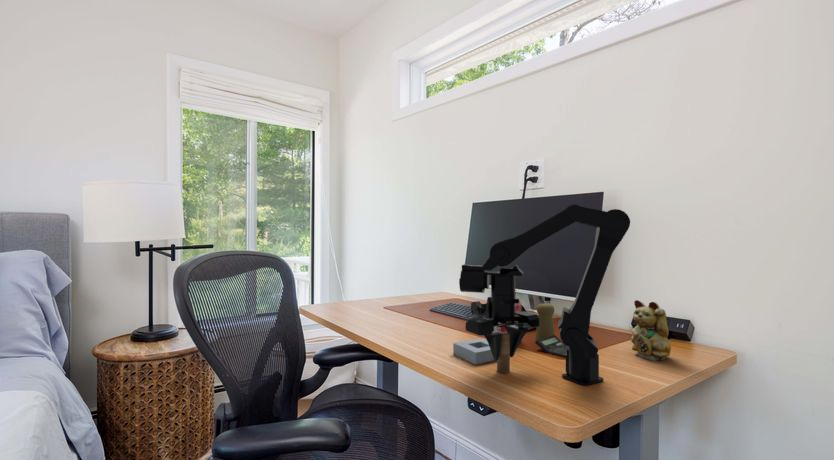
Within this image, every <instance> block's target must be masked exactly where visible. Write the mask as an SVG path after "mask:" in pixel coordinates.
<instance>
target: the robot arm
mask: <svg viewBox="0 0 834 460" xmlns="http://www.w3.org/2000/svg"><path fill="white" fill-rule="evenodd" d="M574 223H578V224H581V225H586V226H588V227H593V228H596V229H595V230H596V231H595V237H594V246H593V250H592V253H591V256H590V259H589V261H588V263H587V265H586V269H585V271H584V274H583V277H582V278H581V282H580V285H579V288H578V291H577V294H576V295H575V300H574V301H573V303H572V304H571V306H570V307H569V308H567V307H565V306H563V307H562V313H561V316H560V318H559V319H558V321H557V328H558V329H559V337H560V338H559V339H560V340H561V341H562V342H563V343H564V344H565V345H566V346H568V347H569V348H570V349H567V355H566V358H565V373H562V374H561V377H562V378H565V379H567V380H569V381H572V382H574V383H577V384H579V385H582V386H589V385H593V384H596V383H600V382H603V381H604V377H601V376H600V371H599V370H600V364H599V363H600V362H599V361H600V357H599V356H600V355H599V353H598V352H599V349H598V346H597V343H596V340H595V339H594V338H593V336H591V335H590V333H589V331H590V323H591V315H592V310H593V306H594V303H595V301H596V298H597V295H598V292H599V290H600V287H601V285H602V284H603V283H602V282H603V279H604V276H605V274H606V272H607V269H608V266H609V263H610V260H611V258H612V255H613V253H614V251H615V250H616V249H617V247H618V246H619V245H620V243H621V241H622V240H623V238H624V237H625V235H626V234H627V232H628V231H629V228H630V227H631V219H630V217H629V215H628V214H627V212H626V211H623V210H622V209H618V208H614V209H609V210H607V211H605V210H602V209H595V208H590V207H585V206H580V205H579V204H571V205H569V206H567V207H566V208H564V210H562V211H560V212H558V213H556V214H555V215H553V216H551V217H549V218H547V219H546V220H544V221H542V222H541V223H539V224H537V225H535V226H534V227H532V228H530V229H529V230H527V231H525V232H523V233H521V234H518V235H515V236H513V237H510V238H507V239H504V240H502V241H499V242H497V243H495V244H493V245H492V246H491V248H490V251H489V258H487V260H486V261H485V262H484V263H483V265H477V264H476V265H471V264H465V263H464V264H462V265H461V271H460V275H459V279H458V280H459V283H458V284H459V290H460V292H461V293H462V292H463V293H477V294H478V293H481V294H482V293H483V294H484V293H485V290H487V289H489V288H490V287H491V288H490V296H487V299H486V302H485V303H482V302H481V301H479V300H477V301H472V302H471V303H470V313H471V315H472V316H476V317H474V318H472V317H471V318H468V319H467V320H466V321H465V331H466V332H469V333H471V334H474V335H477V336H484V337H485V338H484V339H486V340H487V342H488V344H489V347H490V350H491V352H492V355H493V358H494V360H495V361H497V360H498V358H499V354H500V347H501V340H502V334H501V333H498V327H505V329H506V331H507V333H509V334H510V358H514V356H515V354H516V352H517V350H518V348H519V346H520V344H521V342H522V341H523V339H524V337H525V335H526V333H528V332H529V330H530V328H535V327H536V328H537V327H538V326H539V317H538V313H537V314H536V313H533V312H528V311H526V310H525V311H521V312H515V303H519V299H520V298H519V299H518V298H517V297H516V277H522V276H523V275H524V271H523V270H521V269H520V267H519V265H518V264H516V265H514V266H513V268H512V267H506V266H508V265H510V264H512V263H513V262H514V261H515V260H516V259H517V258H519V257H520V256H521V255H522V254H524V253H525V252H526V251H527V250H529V249H530V248H531V247H533V246H535V245H536V244H538V243H540V242H542V241H543V240H545V239H547V238H549V237H552V235H555V234H556V233H558V232H560V231H561V230H563V229H565V228H567V227H568V226H571V225H572V224H574ZM497 267H500V269H499V271H492V270H493V269H495V268H497ZM498 323H499V324H498ZM526 324H527V325H528V327H530V328H526Z"/></svg>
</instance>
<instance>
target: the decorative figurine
mask: <svg viewBox="0 0 834 460" xmlns="http://www.w3.org/2000/svg"><path fill="white" fill-rule="evenodd" d="M633 304H634V307H635V310H634V311H633V314H632V317H633V320H634V322H635V323H636V324H637V325H636V326H634V328H633V329H632V330H631V335H632V336H631V338H630V340H631V343H633V344H632V346H631V350H633V351H635V352H637V357H641V358H643V359H646V360H649V361H650V360H651V361H654V362H655V361H658V360H660V361H662V360H667V359H668V358H667V357H669V356H670V355H671V350H672V347H671V344H670V342H669V339H668V337H669V334H670V333H669V328H668V327H669V326H668V322H667V314H666V311H665V310H664V308H660V306H659V304H658V303H657V302H656V301H651V302H649V303H648V305H647V306H646V305H645V303H644V302H642V301H641V300H639V299H636V300H634V303H633Z"/></svg>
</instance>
